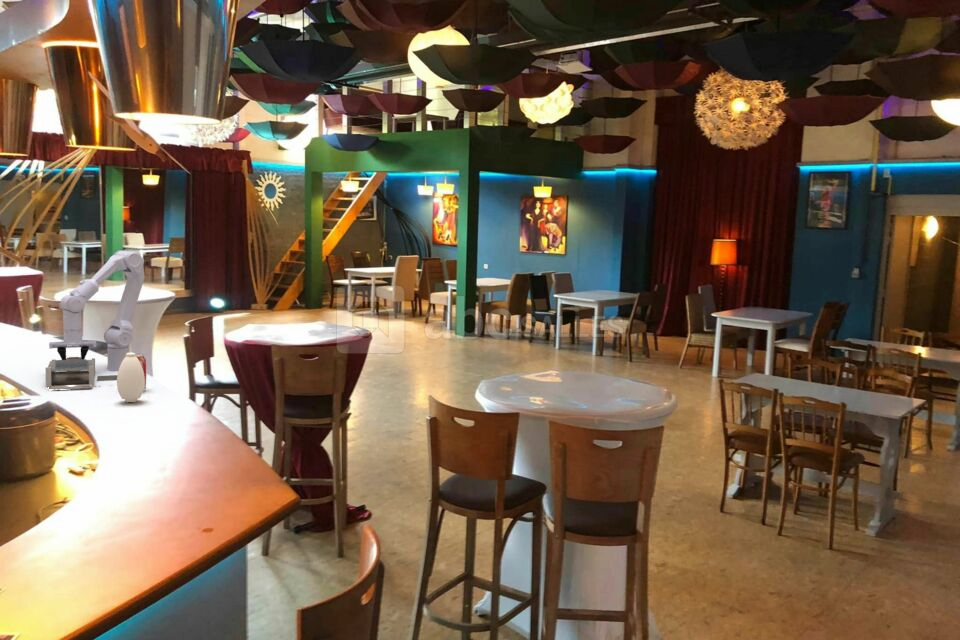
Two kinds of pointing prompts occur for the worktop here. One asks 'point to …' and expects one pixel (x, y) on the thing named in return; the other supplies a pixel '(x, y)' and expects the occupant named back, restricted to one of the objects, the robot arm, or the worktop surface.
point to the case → (70, 376)
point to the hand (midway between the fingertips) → (73, 368)
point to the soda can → (142, 364)
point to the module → (73, 359)
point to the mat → (107, 378)
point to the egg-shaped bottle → (130, 378)
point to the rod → (72, 386)
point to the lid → (71, 365)
